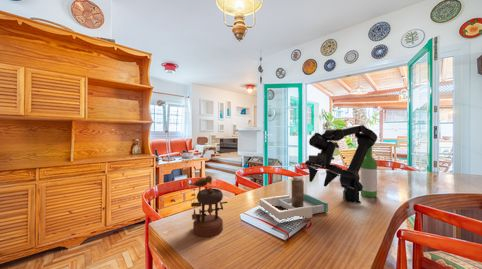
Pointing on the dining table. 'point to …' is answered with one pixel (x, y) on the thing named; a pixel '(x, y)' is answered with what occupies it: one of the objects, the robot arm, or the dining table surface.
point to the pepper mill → (297, 192)
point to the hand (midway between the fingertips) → (317, 183)
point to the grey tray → (307, 204)
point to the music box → (207, 223)
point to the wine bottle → (369, 175)
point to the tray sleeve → (284, 214)
